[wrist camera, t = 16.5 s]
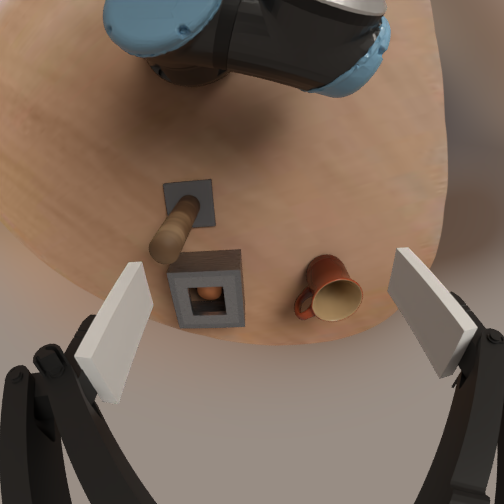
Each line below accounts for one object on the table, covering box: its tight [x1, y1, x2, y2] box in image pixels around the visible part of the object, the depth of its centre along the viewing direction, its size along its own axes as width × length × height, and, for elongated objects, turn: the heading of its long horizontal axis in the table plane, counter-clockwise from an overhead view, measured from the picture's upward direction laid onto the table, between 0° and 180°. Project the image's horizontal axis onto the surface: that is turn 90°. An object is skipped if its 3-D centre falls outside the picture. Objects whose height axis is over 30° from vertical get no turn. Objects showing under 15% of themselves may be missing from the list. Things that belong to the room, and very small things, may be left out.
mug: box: [294, 255, 363, 322], centre depth 51 cm, size 12×9×10 cm
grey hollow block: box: [167, 249, 245, 328], centre depth 52 cm, size 12×12×7 cm
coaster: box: [163, 179, 216, 227], centre depth 48 cm, size 8×8×1 cm
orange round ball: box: [197, 287, 222, 300], centre depth 54 cm, size 4×4×3 cm
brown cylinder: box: [149, 195, 200, 264], centre depth 41 cm, size 4×4×16 cm
